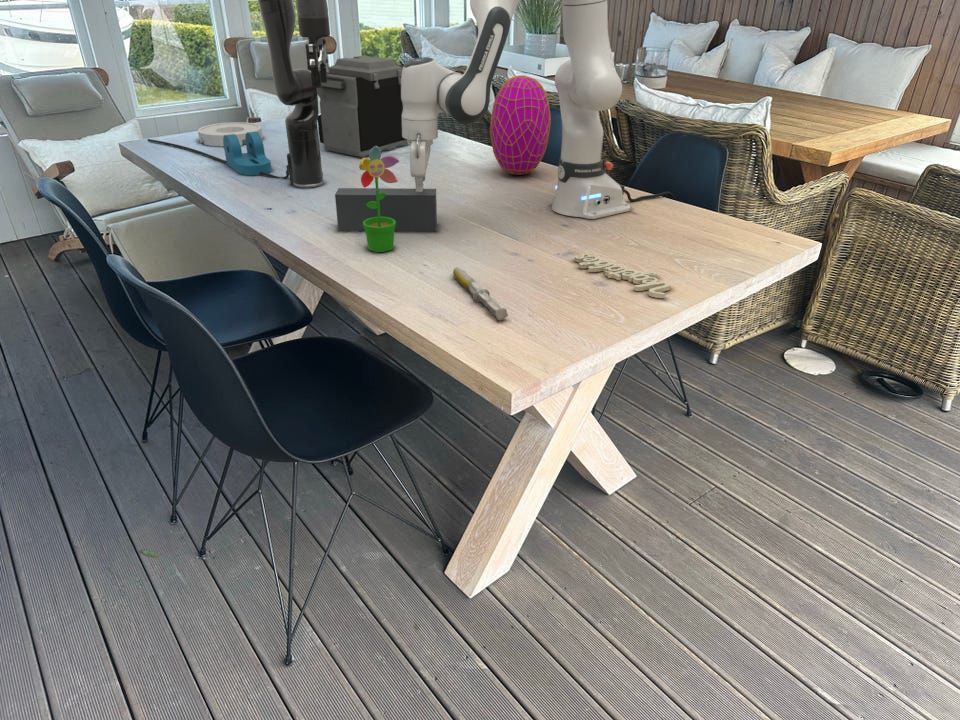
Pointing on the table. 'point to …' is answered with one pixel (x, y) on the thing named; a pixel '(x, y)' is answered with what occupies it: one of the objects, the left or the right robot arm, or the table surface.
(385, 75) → the cooler
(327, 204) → the table surface
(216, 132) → the ashtray
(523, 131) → the decorative egg
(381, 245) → the potted flower
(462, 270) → the syringe
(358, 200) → the box
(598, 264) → the decorative sign
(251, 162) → the camera mount
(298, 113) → the left robot arm
